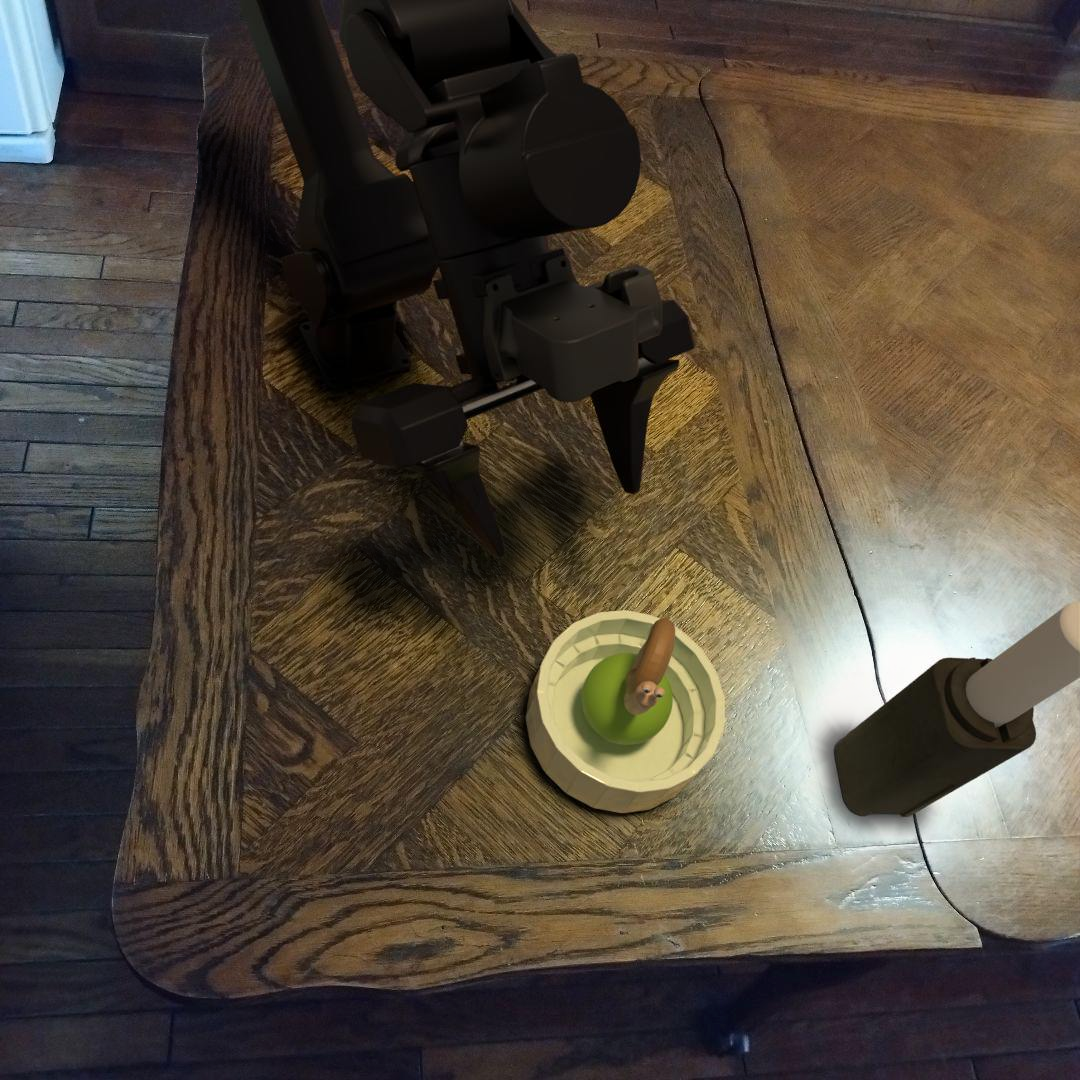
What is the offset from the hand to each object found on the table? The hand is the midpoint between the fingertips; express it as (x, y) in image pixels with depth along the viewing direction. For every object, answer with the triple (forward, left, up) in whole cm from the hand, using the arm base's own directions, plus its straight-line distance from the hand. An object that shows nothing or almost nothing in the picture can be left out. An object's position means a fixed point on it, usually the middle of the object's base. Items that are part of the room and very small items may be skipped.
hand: (568, 523), depth 56 cm
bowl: (-9, -1, -11) cm, 14 cm away
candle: (-19, -15, -11) cm, 27 cm away
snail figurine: (-9, -1, -11) cm, 14 cm away
